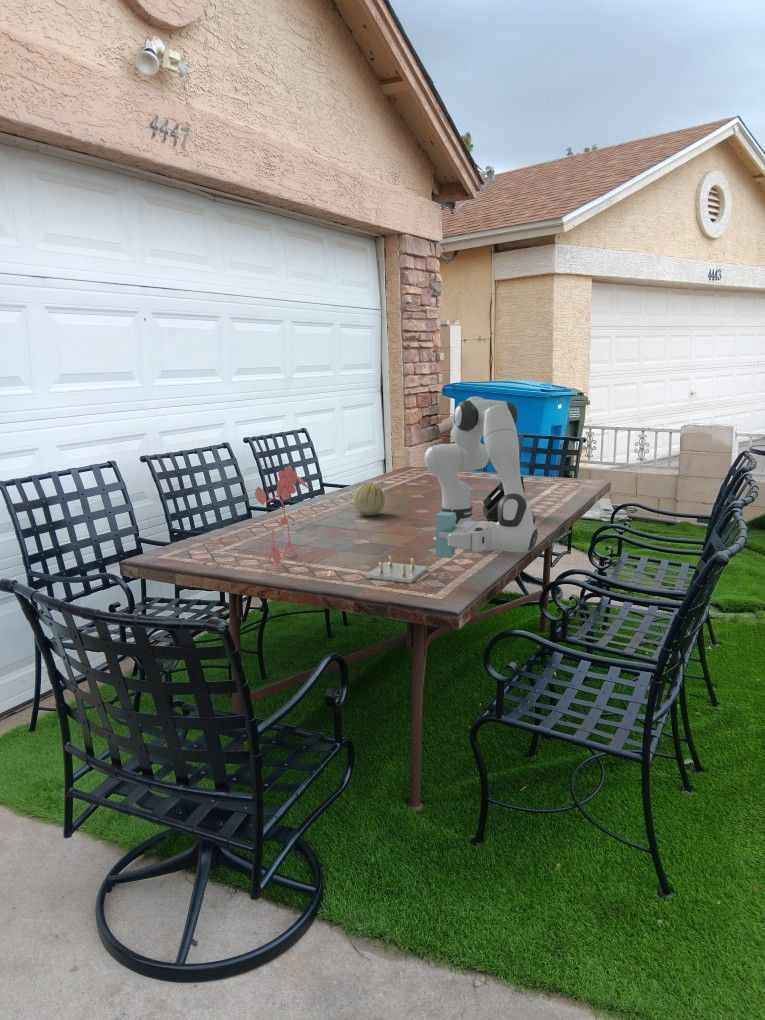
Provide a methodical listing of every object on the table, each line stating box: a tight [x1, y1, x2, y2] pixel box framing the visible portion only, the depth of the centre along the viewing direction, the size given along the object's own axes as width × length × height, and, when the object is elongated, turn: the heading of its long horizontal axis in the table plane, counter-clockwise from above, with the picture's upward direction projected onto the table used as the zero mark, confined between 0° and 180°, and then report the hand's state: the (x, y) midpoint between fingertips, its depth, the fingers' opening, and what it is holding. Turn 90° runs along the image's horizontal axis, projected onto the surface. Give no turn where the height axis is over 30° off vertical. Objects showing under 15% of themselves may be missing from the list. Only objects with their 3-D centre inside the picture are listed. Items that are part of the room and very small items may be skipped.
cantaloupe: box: [352, 482, 386, 517], centre depth 335 cm, size 15×15×15 cm
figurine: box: [254, 464, 314, 567], centre depth 261 cm, size 15×26×35 cm, turn 151°
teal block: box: [435, 511, 456, 559], centre depth 236 cm, size 5×5×14 cm
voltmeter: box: [482, 475, 526, 522], centre depth 324 cm, size 16×16×20 cm
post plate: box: [365, 555, 428, 584], centre depth 248 cm, size 16×16×5 cm
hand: (443, 531), depth 236 cm, fingers closed on teal block, 5 cm apart
